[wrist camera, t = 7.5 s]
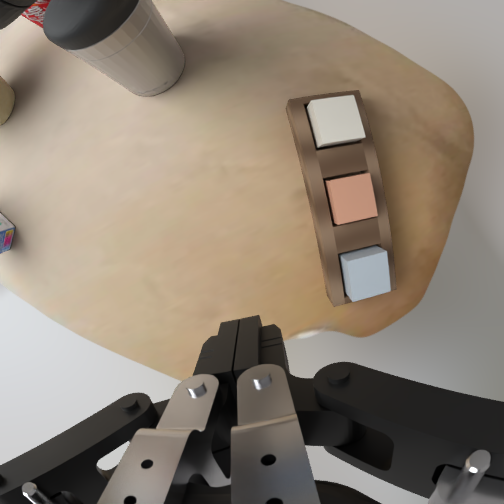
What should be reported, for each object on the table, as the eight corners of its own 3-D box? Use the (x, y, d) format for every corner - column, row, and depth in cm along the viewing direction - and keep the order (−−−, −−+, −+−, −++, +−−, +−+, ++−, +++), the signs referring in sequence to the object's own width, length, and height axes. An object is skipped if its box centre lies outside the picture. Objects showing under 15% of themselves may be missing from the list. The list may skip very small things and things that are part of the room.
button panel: (285, 108, 34) (288, 99, 30) (349, 98, 33) (358, 90, 29) (327, 295, 39) (333, 306, 35) (384, 279, 39) (396, 289, 35)
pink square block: (322, 181, 34) (329, 180, 31) (359, 173, 34) (369, 172, 31) (330, 221, 35) (338, 224, 32) (367, 212, 35) (377, 215, 32)
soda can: (47, 40, 31) (7, 19, 19) (52, 13, 29) (17, -10, 17) (78, 24, 30) (40, -4, 19) (82, -3, 29) (50, -32, 17)
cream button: (306, 108, 31) (311, 100, 28) (345, 102, 31) (353, 94, 27) (316, 148, 32) (323, 144, 29) (355, 141, 32) (365, 137, 28)
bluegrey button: (339, 254, 35) (347, 261, 32) (375, 245, 35) (386, 251, 31) (344, 291, 36) (352, 301, 33) (380, 282, 36) (390, 291, 32)
